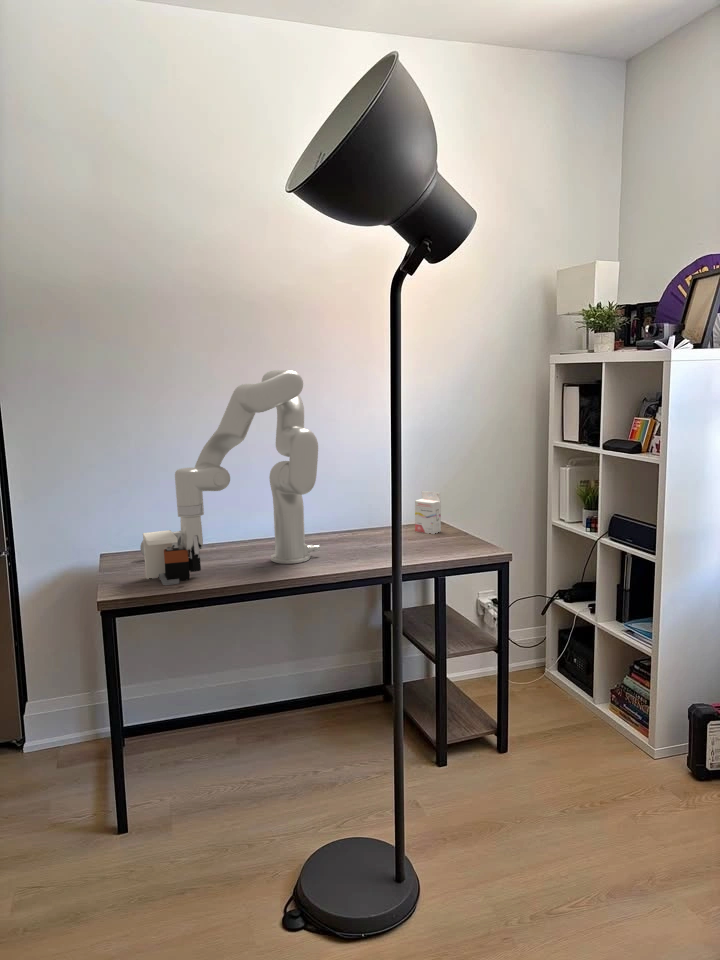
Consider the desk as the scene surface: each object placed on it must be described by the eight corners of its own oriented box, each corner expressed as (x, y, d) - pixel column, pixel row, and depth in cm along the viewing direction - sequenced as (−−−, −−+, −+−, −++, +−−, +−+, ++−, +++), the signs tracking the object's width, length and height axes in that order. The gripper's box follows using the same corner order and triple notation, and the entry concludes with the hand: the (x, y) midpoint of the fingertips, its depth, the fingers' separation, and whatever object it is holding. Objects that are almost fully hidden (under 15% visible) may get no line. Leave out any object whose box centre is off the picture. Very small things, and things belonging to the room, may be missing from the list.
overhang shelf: (173, 574, 221) (170, 530, 219) (180, 584, 210) (177, 538, 208) (146, 578, 218) (142, 533, 216) (151, 588, 207) (148, 541, 205)
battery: (190, 580, 215) (187, 547, 213) (166, 582, 213) (163, 549, 212) (189, 576, 219) (187, 543, 217) (165, 578, 217) (163, 545, 216)
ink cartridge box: (414, 531, 270) (413, 492, 268) (421, 529, 274) (421, 490, 272) (434, 534, 265) (433, 494, 263) (441, 531, 269) (441, 492, 267)
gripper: (173, 507, 220) (177, 566, 223) (182, 516, 207) (186, 579, 210) (198, 504, 223) (202, 563, 226) (208, 513, 210) (213, 575, 212)
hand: (195, 570), depth 218 cm, fingers closed
